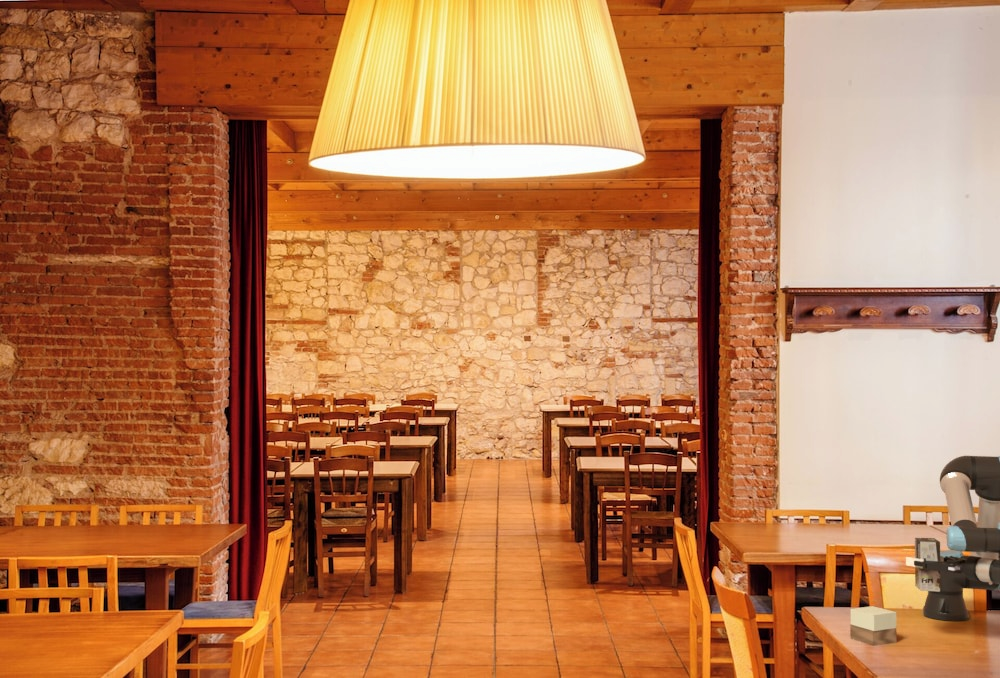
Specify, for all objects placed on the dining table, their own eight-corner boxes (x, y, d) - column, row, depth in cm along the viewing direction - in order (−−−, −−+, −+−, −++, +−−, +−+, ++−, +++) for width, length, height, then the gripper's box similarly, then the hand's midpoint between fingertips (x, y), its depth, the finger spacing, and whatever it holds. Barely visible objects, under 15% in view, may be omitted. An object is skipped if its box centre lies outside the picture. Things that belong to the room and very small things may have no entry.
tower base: (873, 636, 347) (873, 621, 347) (896, 643, 337) (896, 627, 338) (850, 639, 342) (850, 624, 343) (873, 646, 333) (872, 630, 333)
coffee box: (941, 592, 336) (940, 541, 337) (920, 591, 338) (919, 541, 338) (935, 586, 345) (934, 537, 346) (914, 585, 346) (914, 536, 347)
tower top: (872, 621, 347) (872, 606, 347) (896, 627, 338) (896, 612, 338) (850, 624, 342) (850, 609, 342) (874, 631, 333) (874, 615, 333)
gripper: (962, 585, 320) (896, 574, 338) (999, 577, 335) (934, 567, 352) (962, 561, 321) (896, 551, 338) (998, 553, 335) (933, 544, 352)
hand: (915, 559), depth 345 cm, fingers closed on coffee box, 10 cm apart
